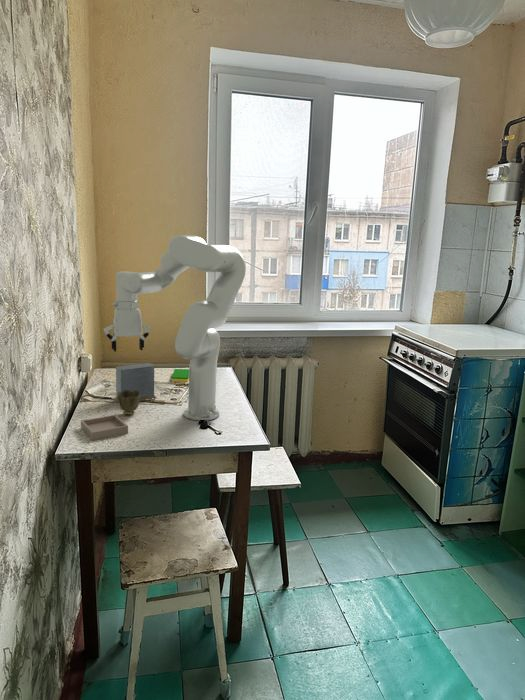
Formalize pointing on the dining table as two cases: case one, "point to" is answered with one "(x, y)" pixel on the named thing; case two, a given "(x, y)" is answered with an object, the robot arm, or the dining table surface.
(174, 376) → the dish sponge
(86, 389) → the dining table surface
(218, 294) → the robot arm
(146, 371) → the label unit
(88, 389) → the dining table surface
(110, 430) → the tray
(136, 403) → the cup
